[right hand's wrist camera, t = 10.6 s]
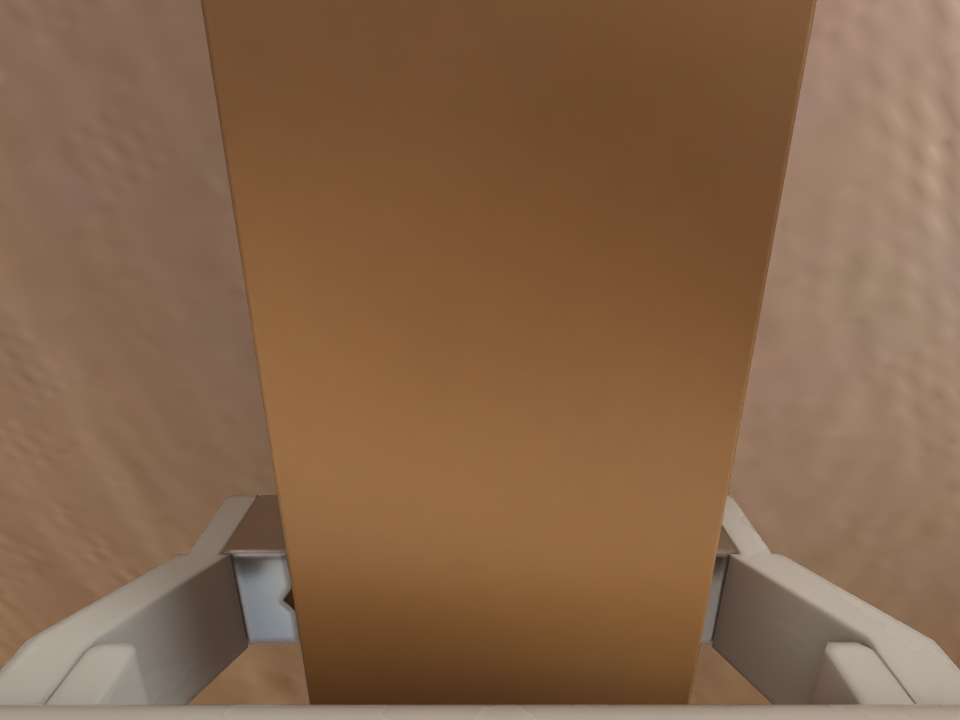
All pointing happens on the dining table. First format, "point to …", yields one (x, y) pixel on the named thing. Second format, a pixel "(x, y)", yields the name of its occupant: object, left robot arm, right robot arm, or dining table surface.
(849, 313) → the dining table surface
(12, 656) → the right robot arm
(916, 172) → the dining table surface
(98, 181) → the dining table surface
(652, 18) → the beam
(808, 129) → the dining table surface
